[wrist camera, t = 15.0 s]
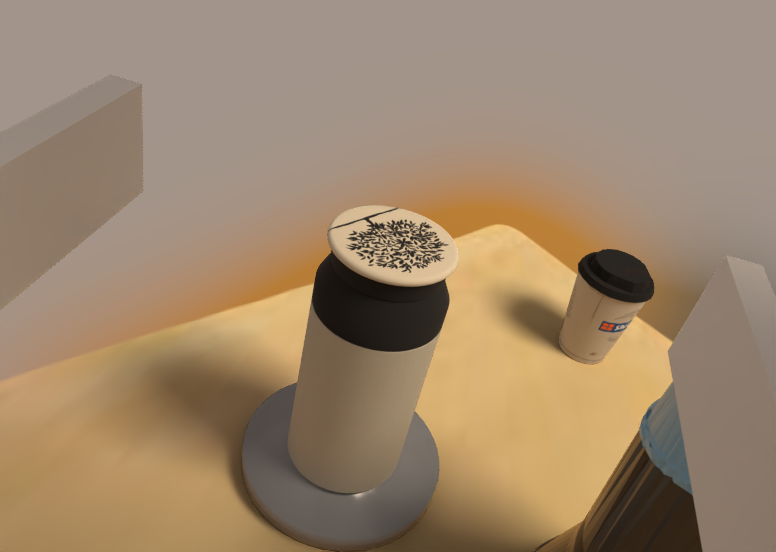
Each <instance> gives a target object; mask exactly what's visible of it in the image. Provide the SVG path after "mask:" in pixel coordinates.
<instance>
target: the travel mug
mask: <svg viewBox="0 0 776 552" xmlns="http://www.w3.org/2000/svg"><path fill="white" fill-rule="evenodd" d="M327 236H328V243H329V245H330V248H331V253H330V254H329V255H328V256H327V257H326V258H325V260H324V261H323V262H322V263H321V264H320V266H319V267H318V269H317V272H316V277H315V283H314V289H313V294H312V300H311V306H310V312H309V318H308V323H307V329H306V335H305V341H304V347H303V352H302V358H301V364H300V370H299V376H298V381H297V387H296V393H295V399H294V405H293V410H292V416H291V422H290V428H289V434H288V441H287V445H288V452H289V455H290V458H291V460H292V462H293V464H294V466H295V467H296V468H297V470H298V471H299V472H300V473H301V474H302V475H303V476H304V477H305V478H307V479H308V480H309V481H311V482H312V483H314V484H316V485H317V486H319V487H322V488H324V489H327V490H330V491H334V492H340V493H359V492H364V491H368V490H371V489H373V488H376V487H377V486H379V485H381V484H382V483H384V482H385V481H386V480H387V479H388V478H389V477H390V476H391V475H392V473H393V472H394V470H395V468H396V466H397V463H398V460H399V457H400V454H401V451H402V448H403V445H404V442H405V439H406V436H407V433H408V430H409V427H410V423H411V420H412V417H413V414H414V411H415V408H416V405H417V402H418V399H419V396H420V393H421V390H422V387H423V383H424V380H425V377H426V374H427V371H428V368H429V365H430V362H431V359H432V356H433V353H434V350H435V347H436V344H437V340H438V337H439V334H440V331H441V328H442V325H443V322H444V319H445V316H446V313H447V310H448V306H449V293H448V289H447V286H446V282H445V280H446V278H447V277H448V276H450V275H451V274H452V273H453V272H454V270H455V269H456V267H457V265H458V261H459V252H458V248H457V245H456V243H455V242H454V240H453V239H452V237H451V236H450V235H449V234H448V233H447V232H446V231H445V230H444V229H443V228H442V227H440V226H439V225H438V224H436V223H435V222H433V221H431V220H430V219H428V218H426V217H424V216H421V215H419V214H417V213H413V212H411V211H408V210H404V209H400V208H395V207H389V206H362V207H357V208H353V209H350V210H347V211H345V212H343V213H341V214H340V215H338V216H337V217H336V218H335V219H334V220H333V221H332V222H331V224H330V226H329V228H328V234H327Z"/></svg>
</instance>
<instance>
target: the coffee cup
mask: <svg viewBox="0 0 776 552" xmlns="http://www.w3.org/2000/svg"><path fill="white" fill-rule="evenodd" d="M653 294H654V283H653V280H652V278H651V277H650V274H649V272H648V270H647V268H646V266H645V265H644V264H643V263H642V262H641V261H640V260H638V259H637V258H635V257H634V256H632V255H630V254H628V253H625V252H622V251H619V250H612V249H606V250H601V251H599V252H593V253H590V254H588V255H586V256H585V257H584V258H582V260H581V261H580V262H579V263H578V275H577V278H576V281H575V285H574V288H573V291H572V295H571V298H570V302H569V305H568V308H567V312H566V315H565V319H564V322H563V325H562V329H561V332H560V335H559V342H558V343H559V345H560V348H561V349H562V350H563V352H564V353H565V354H567V355H568V356H569V357H570V358H572V359H574V360H576V361H578V362H581V363H585V364H597V363H599V362H601V361H602V360H603V359H604V358H605V356H606V355H607V354H608V352H609V351H610V349H611V348H612V347H613V345H614V344H615V343H616V341H617V340H618V339H619V337H620V336H621V335H622V333H623V332H624V331H625V329H626V328H627V326H628V325H629V324H630V322H631V321H632V320H633V318H634V317H635V316H636V314H637V313H638V312H639V310H640V309H641V307H642V306H643V305H644V303H645V302H646V301H648V300H649V299H651V298H652V296H653Z"/></svg>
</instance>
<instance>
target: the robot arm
mask: <svg viewBox="0 0 776 552" xmlns="http://www.w3.org/2000/svg"><path fill="white" fill-rule="evenodd" d="M142 131H143V130H142V84H140V83H136V82H133V81H129V80H126V79H123V78H119V77H116V76H112V75H109V76H107V77H105V78H103V79H101V80H100V81H97V82H96V83H94V84H92V85H90V86H88V87H86V88H84V89H82V90H80V91H78V92H77V93H75V94H73V95H71V96H69V97H67V98H65V99H63V100H61V101H59V102H58V103H56V104H54V105H52V106H50V107H48V108H46V109H44V110H42V111H40V112H39V113H37V114H35V115H33V116H31V117H29V118H27V119H25V120H23V121H21V122H20V123H18V124H16V125H14V126H12V127H10V128H8V129H6V130H4V131H2V132H1V133H0V310H1V309H2V308H4V307H5V306H6V305H7V304H8V303H10V302H11V301H12V300H13V299H14V298H16V297H17V296H18V295H19V294H20V293H22V292H23V291H24V290H25V289H26V288H28V287H29V286H30V285H31V284H32V283H33V282H35V281H36V280H37V279H38V278H40V277H41V276H42V275H43V274H44V273H46V272H47V271H48V270H49V269H50V268H52V267H53V266H54V265H55V264H56V263H58V262H59V261H60V260H61V259H62V258H63V257H65V256H66V255H67V254H68V253H70V252H71V251H72V250H73V249H74V248H76V247H77V246H78V245H79V244H80V243H81V242H83V241H84V240H85V239H86V238H88V237H89V236H90V235H91V234H92V233H94V232H95V231H96V230H97V229H98V228H100V227H101V226H102V225H103V224H104V223H106V222H107V221H108V220H109V219H110V218H112V217H113V216H114V215H115V214H116V213H118V212H119V211H120V210H121V209H122V208H123V207H125V206H126V205H127V204H128V203H129V202H131V201H132V200H133V199H134V198H136V197H137V196H138V195H139V194H140V193H142V192H143V138H142V137H143V132H142ZM668 355H669V360H670V366H671V372H672V378H673V382H672V383H671V385H670V386H669V387H668V389H667V390H666V391H665V393H664V394H663V396H662V397H661V398H660V399H658V400H657V401H655V402H654V403H653V404H652V405H651V406H650V407H649V408H648V410H647V412H646V414H645V415H644V416H643V418H642V421H641V425H640V428H639V431H638V432H637V434H636V436H635V437H634V439H633V441H632V442H631V444H630V446H629V447H628V449H627V450H626V452H625V454H624V455H623V457H622V459H621V460H620V462H619V464H618V465H617V467H616V468H615V470H614V472H613V473H612V475H611V477H610V478H609V480H608V481H607V483H606V485H605V486H604V488H603V490H602V491H601V493H600V495H599V496H598V498H597V499H596V501H595V503H594V504H593V506H592V508H591V509H590V511H589V513H588V514H587V516H586V517H585V519H584V521H582V522H581V523H579V524H577V525H576V526H574V527H572V528H571V529H569V530H567V531H566V532H564V533H562V534H561V535H558V536H556V537H554V538H552V539H550V540H548V541H546V542H544V543H543V544H541V545H540V546H538V547H537V548H536V549H534V550H533V551H532V552H776V297H775V295H774V292H773V290H772V287H771V285H770V283H769V280H768V278H767V276H766V273H765V271H764V269H763V266H762V265H759V264H756V263H752V262H749V261H745V260H742V259H738V258H735V257H732V256H728V255H725V257H724V258H723V260H722V262H721V263H720V265H719V267H718V268H717V270H716V272H715V274H714V275H713V277H712V278H711V280H710V282H709V283H708V285H707V287H706V288H705V290H704V292H703V293H702V295H701V297H700V298H699V300H698V302H697V303H696V305H695V307H694V308H693V310H692V312H691V313H690V315H689V317H688V318H687V320H686V322H685V323H684V325H683V327H682V329H681V330H680V332H679V333H678V335H677V337H676V338H675V340H674V342H673V343H672V345H671V347H670V348H669V350H668Z"/></svg>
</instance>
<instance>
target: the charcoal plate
mask: <svg viewBox="0 0 776 552" xmlns="http://www.w3.org/2000/svg"><path fill="white" fill-rule="evenodd" d="M296 387H297V383H295V384H292V385H289V386H287V387H285V388H283V389H281V390H279V391H278V392H276V393H274V394H273V395H271V396H270V397H269V398H268V399H267V400H265V401H264V402H263V403H262V404H261V405H260V407H259V408H258V409H257V410H256V411H255V413H254V414H253V416H252V417H251V419H250V421H249V424H248V426H247V428H246V432H245V436H244V441H243V450H242V460H241V466H242V476H243V480H244V484H245V487H246V489H247V492H248V494H249V496H250V498H251V500H252V502H253V503H254V505H255V506H256V508H257V509H258V510H259V511H260V513H261V514H262V515H263V516H264V517H265V518H266V519H267V520H268V521H269V522H270V523H271V524H272V525H273V526H275V527H276V528H277V529H279V530H280V531H281V532H283V533H284V534H286V535H288V536H290V537H291V538H293V539H295V540H297V541H300V542H302V543H304V544H307V545H309V546H313V547H317V548H320V549H325V550H332V551H347V552H352V551H362V550H368V549H372V548H377V547H380V546H383V545H385V544H388V543H390V542H392V541H394V540H396V539H398V538H400V537H401V536H403V535H404V534H405V533H407V532H408V531H409V530H411V529H412V528H413V527H414V526H415V525H416V524H417V523H418V521H419V520H420V519H421V517H422V516H423V515H424V513H425V511H426V509H427V507H428V505H429V503H430V501H431V498H432V496H433V493H434V491H435V488H436V484H437V481H438V475H439V457H438V451H437V447H436V444H435V441H434V439H433V437H432V435H431V433H430V431H429V429H428V427H427V426H426V424H425V423H424V421H423V420H422V419H421V418H420V417H419V415H418V414H417V413H416V412H415V411H414V414H413V417H412V420H411V423H410V427H409V430H408V433H407V436H406V439H405V442H404V445H403V448H402V451H401V454H400V457H399V460H398V463H397V466H396V468H395V470H394V472H393V473H392V475H391V476H390V477H389V478H388V479H387V480H386V481H385V482H384V483H382V484H381V485H379V486H377V487H376V488H373V489H371V490H368V491H364V492H359V493H340V492H334V491H330V490H327V489H324V488H322V487H319V486H317V485H316V484H314V483H312V482H311V481H309V480H308V479H307V478H305V477H304V476H303V475H302V474H301V473H300V472H299V471H298V470H297V468H296V467H295V466H294V464H293V462H292V460H291V458H290V455H289V452H288V445H287V441H288V434H289V428H290V422H291V416H292V410H293V405H294V399H295V393H296Z"/></svg>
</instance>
